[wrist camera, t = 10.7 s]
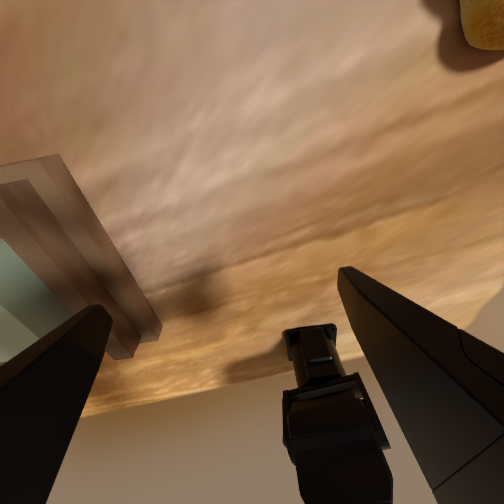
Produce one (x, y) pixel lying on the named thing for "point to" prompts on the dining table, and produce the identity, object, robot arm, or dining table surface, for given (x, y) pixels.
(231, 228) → the dining table surface
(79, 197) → the brown wooden stand
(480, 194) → the dining table surface
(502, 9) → the bread roll
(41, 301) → the pale green block
